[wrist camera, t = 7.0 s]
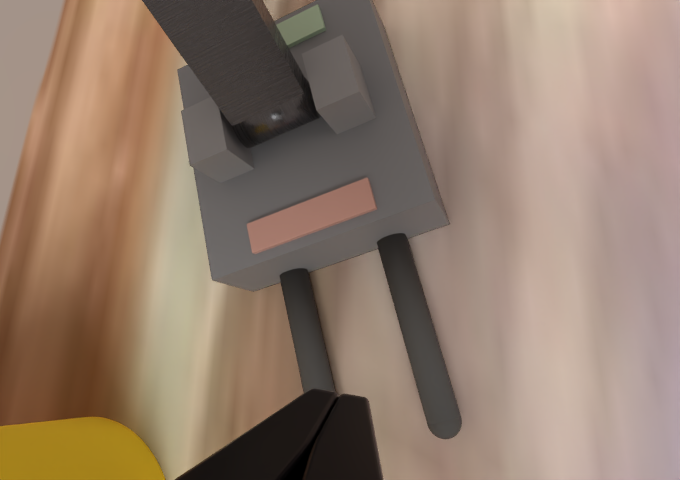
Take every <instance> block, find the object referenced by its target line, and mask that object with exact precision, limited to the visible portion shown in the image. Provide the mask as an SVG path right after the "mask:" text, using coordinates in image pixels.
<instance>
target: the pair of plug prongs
mask: <svg viewBox="0 0 680 480" xmlns="http://www.w3.org/2000/svg"><path fill="white" fill-rule="evenodd" d="M377 245H378V249H379V252H380V256H381V260H382V263H383V267H384V270H385V274H386V278H387V281H388V285H389V288H390V292H391V295H392V299H393V303H394V306H395V310H396V313H397V317H398V320H399V324H400V328H401V331H402V335H403V338H404V342H405V345H406V349H407V353H408V356H409V360H410V363H411V367H412V370H413V374H414V378H415V381H416V385H417V388H418V392H419V395H420V399H421V403H422V406H423V410H424V413H425V417H426V420H427V424H428V427H429V429H430V431H431V432H432V433H433V434H434V435H435V436H437V437H439V438H442V439H449V438H452V437H454V436H456V435H457V434H458V432H459V431H460V428H461V424H462V420H461V416H460V412H459V409H458V406H457V402H456V399H455V396H454V392H453V389H452V386H451V382H450V379H449V376H448V372H447V369H446V366H445V362H444V359H443V356H442V352H441V349H440V346H439V343H438V339H437V336H436V333H435V329H434V326H433V323H432V319H431V316H430V313H429V309H428V306H427V303H426V299H425V296H424V293H423V289H422V286H421V283H420V279H419V276H418V273H417V270H416V266H415V263H414V260H413V256H412V253H411V250H410V246H409V243H408V240H407V236H406V234H404V233H397V234H392V235H388V236H386V237H383V238H381V239H380V240H378V242H377ZM280 281H281V286H282V290H283V295H284V300H285V305H286V310H287V314H288V319H289V324H290V329H291V333H292V338H293V343H294V348H295V352H296V357H297V362H298V367H299V372H300V376H301V381H302V386H303V391H304V393H306V392H307V391H309V390H310V389H313V388H315V389H322V390H327V391H333V392H335V388H334V383H333V379H332V375H331V370H330V366H329V361H328V357H327V353H326V348H325V344H324V340H323V335H322V331H321V327H320V322H319V318H318V313H317V309H316V305H315V300H314V296H313V292H312V287H311V283H310V278H309V274H308V270H307V269H305V268H298V269H292V270H288V271H286V272H283V273H282V274H280Z"/></svg>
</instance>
